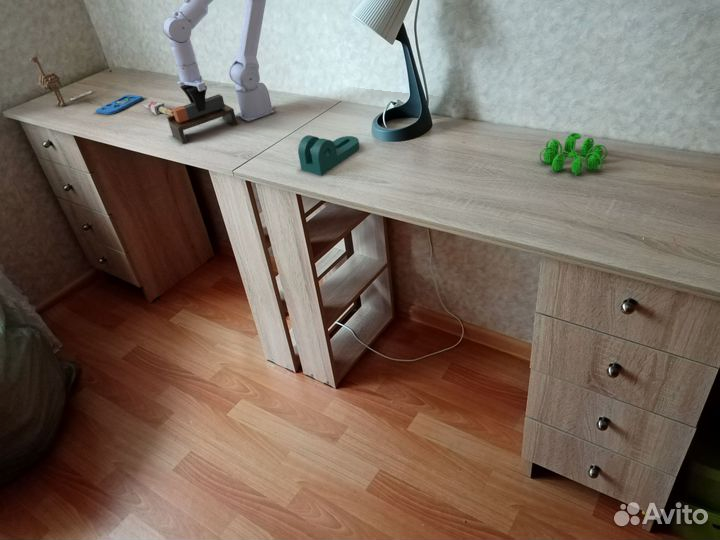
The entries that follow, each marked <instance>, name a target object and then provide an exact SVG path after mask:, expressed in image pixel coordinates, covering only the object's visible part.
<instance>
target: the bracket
mask: <svg viewBox="0 0 720 540" xmlns="http://www.w3.org/2000/svg"><path fill="white" fill-rule="evenodd" d="M359 150H360V139H359V138H358V137H356V136H352V135H345V136H341V137H338V138H336V139H334V140H331V139H326V138H322V137H321V138H320V137H318V136H315V135H309V134H307V135H305V136H303V137H302V139H301V140H300V142H299V144H298V149H297V153H298V154H297V155H298V160H299V165H300V170H301V171H302V172H307V173H311V174H314V175H317V176H321V177H322V176H324V175H325V174H326V173H329V172H330V171H331V170H332V169H333V168H335V167H337V166H338V165H340V164H341V163H343V162H344V161H346V160H347V159H349V158H350V157H351V156H353V155H354V154H356V153H358V152H359Z"/></svg>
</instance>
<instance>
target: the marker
mask: <svg viewBox="0 0 720 540" xmlns="http://www.w3.org/2000/svg"><path fill="white" fill-rule="evenodd" d="M225 104H226V103H225V101H224V97H223V95H221V94H215V95H212V96H209V97H205V110H203V111H200V112H199V111H198V110H197V108H196V106H195V103H191V102H190V103H188V104H185V105H181V106H178V107H174V108H172V109H171V110H172V111H173V113H174V116H175V119H176V121H178V122H179V123H180V122H183V121H186V120H189V119H192V118H194V117H197V116H200V115H203V114H206V113H209V112H212V111H215V110H218V109H221V108H224V107H225Z"/></svg>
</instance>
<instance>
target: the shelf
mask: <svg viewBox="0 0 720 540" xmlns="http://www.w3.org/2000/svg"><path fill="white" fill-rule="evenodd" d="M224 104H225V107H224V108H221V109H218V110H215V111H212V112H209V113H206V114H203V115H200V116H197V117H194V118H192V119H189V120H186V121H183V122H180V123H179V122H178V121H176V119H175V116H174V115H172V116H170V115H168V116H166V119H167V122H168V125H169V128H170V131H171V134H172V137H173V138H175V139H176V140H177V141H178V142H180V143H181V144H187V143H188V142H187V141H188V140H187V138H186V135H185V130H188V129H192V128H194V127H197V126H200V125H203V124H206V123H209V122H211V121H214V120H217V119H220V118H222V120H224V121H225V122H227V123H228V124H231V125H232V126H236V125H238V121H237V118H236V113H235V109H234V108H233V107H232V106H229V105H227V104H226V103H224Z"/></svg>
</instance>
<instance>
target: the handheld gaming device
mask: <svg viewBox="0 0 720 540" xmlns="http://www.w3.org/2000/svg"><path fill="white" fill-rule="evenodd" d="M143 99H144V98H143V96H142V95H135V94H124V95H123V96H121V97H119V98H117V99H116V100H113V101H111V102H109V103H107V104H105V105H103V106H100V107H99V108H97V109H96V110H95V112H96V113H97V114H103V115H104V114H105V115H113V114H116V113H119V112H121V111H122V110H124V109H126V108H128V107H130V106H132V105H135V104H136V103H138V102H139V101H142V100H143Z"/></svg>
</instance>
